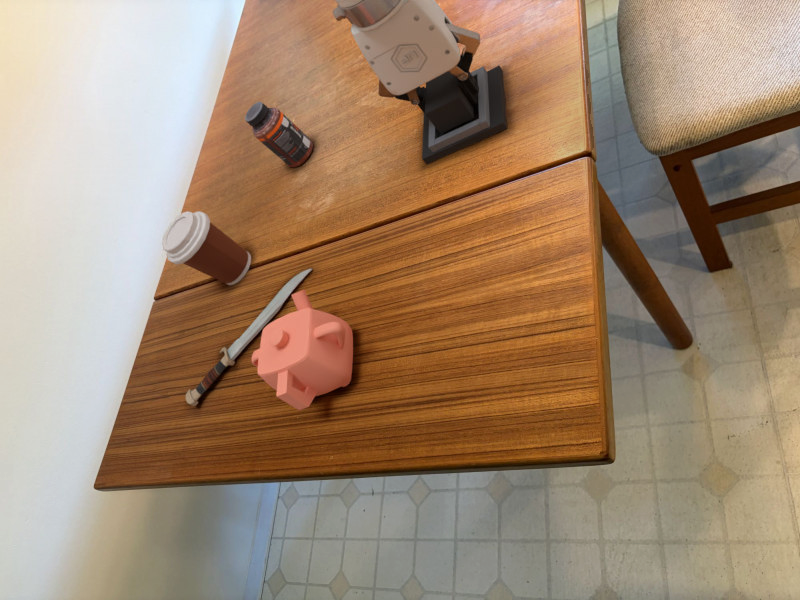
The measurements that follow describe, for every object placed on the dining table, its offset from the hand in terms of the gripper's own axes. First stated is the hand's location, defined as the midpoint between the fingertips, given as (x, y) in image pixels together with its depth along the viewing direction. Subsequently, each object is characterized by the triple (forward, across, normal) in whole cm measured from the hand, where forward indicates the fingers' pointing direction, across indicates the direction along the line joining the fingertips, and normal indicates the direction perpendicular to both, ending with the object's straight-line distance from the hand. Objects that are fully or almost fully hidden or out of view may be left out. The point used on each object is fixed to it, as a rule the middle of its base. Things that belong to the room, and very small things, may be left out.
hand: (455, 105), depth 74 cm
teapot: (+3, -19, -32) cm, 37 cm away
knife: (+3, -36, -24) cm, 43 cm away
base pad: (+3, 0, 0) cm, 3 cm away
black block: (0, 0, 0) cm, 0 cm away
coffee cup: (+3, -43, -10) cm, 44 cm away
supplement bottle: (+3, -32, +10) cm, 34 cm away
